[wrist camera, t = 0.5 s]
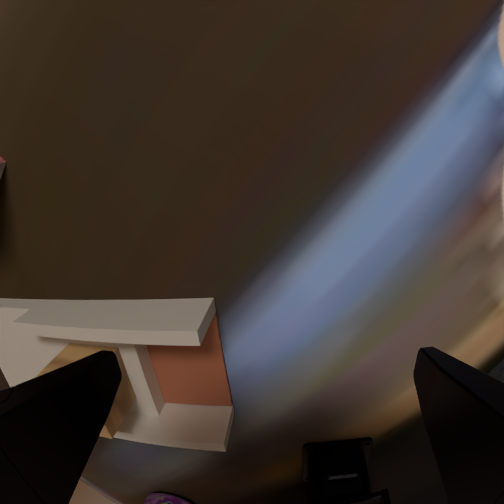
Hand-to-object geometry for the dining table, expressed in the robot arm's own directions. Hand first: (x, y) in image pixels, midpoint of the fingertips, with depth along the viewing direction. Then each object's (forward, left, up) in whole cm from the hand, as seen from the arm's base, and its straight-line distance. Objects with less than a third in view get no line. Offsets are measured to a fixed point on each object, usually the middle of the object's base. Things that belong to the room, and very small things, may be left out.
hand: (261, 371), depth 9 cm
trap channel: (-9, +18, -13) cm, 23 cm away
